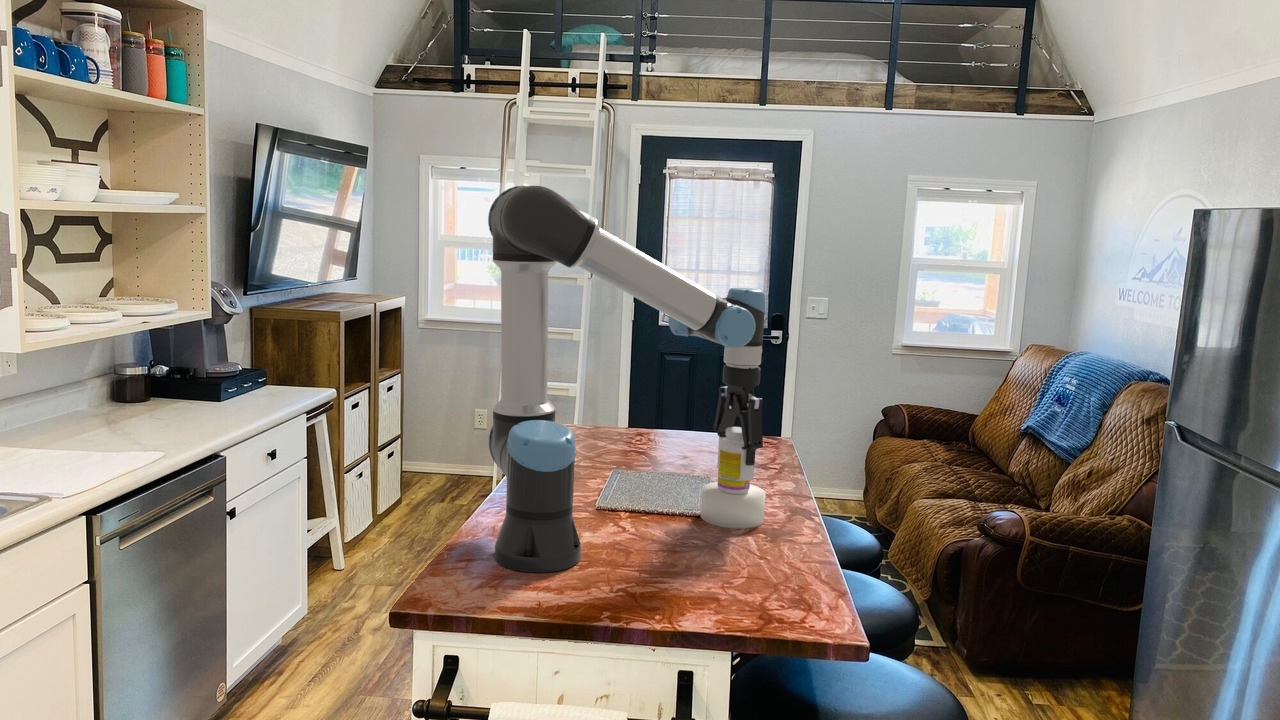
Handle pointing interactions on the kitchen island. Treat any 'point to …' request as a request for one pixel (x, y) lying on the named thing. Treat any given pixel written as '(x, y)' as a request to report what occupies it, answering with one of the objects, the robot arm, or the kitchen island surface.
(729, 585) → the kitchen island surface
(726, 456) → the supplement bottle
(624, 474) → the kitchen island surface
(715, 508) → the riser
